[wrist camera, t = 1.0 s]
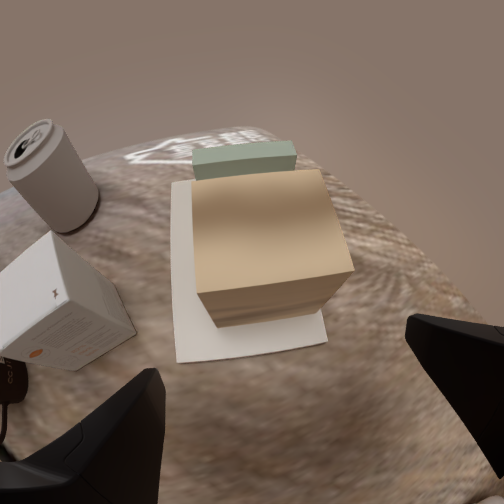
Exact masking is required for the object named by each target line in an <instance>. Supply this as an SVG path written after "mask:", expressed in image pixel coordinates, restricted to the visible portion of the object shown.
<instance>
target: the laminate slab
mask: <svg viewBox="0 0 504 504" xmlns="http://www.w3.org/2000/svg"><path fill="white" fill-rule="evenodd" d="M191 181H196V179H191V180H185V181H178V182H172V190H171V284H172V306H173V322H174V335H175V347H176V358H177V363H180V364H182V363H195V362H206V361H216V360H226V359H234V358H242V357H249V356H257V355H263V354H270V353H276V352H282V351H287V350H293V349H298V348H304V347H309V346H314V345H318V344H323V343H326V342H328V340H327V335H326V330H325V325H324V321H323V316H322V312H321V308H320V309H319V311H318V312H317V313H315V314H309V315H304V316H298V317H292V318H286V319H280V320H274V321H267V322H260V323H253V324H246V325H239V326H231V327H223V328H217V327H216V326H215V324H214V322H213V321H212V319H211V317H210V316H209V314H208V312H207V310H206V309H205V307H204V305H203V303H202V302H201V300H200V298H199V297H198V295H197V292H196V279H195V264H194V246H193V225H192V193H191Z"/></svg>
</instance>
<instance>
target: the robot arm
mask: <svg viewBox="0 0 504 504" xmlns="http://www.w3.org/2000/svg"><path fill="white" fill-rule="evenodd" d="M405 339H406V342H407V343H408V345H409V346H410V348H411V349H412V351H413V353H414V354H415V356H416V357H417V359H418V361H419V362H420V364H421V365H422V367H423V369H424V370H425V371H426V373H427V374H428V375H429V377H430V378H431V379H432V380H433V382H434V383H435V384H436V386H437V387H438V388H439V390H440V391H441V392H442V394H443V395H444V397H445V398H446V399H447V401H448V402H449V403H450V405H451V406H452V408H453V409H454V410H455V412H456V413H457V415H458V416H459V417H460V419H461V420H462V422H463V423H464V425H465V426H466V428H467V429H468V430H469V432H470V433H471V435H472V436H473V438H474V439H475V441H476V442H477V444H478V446H479V447H480V449H481V451H482V452H483V454H484V455H485V457H486V458H487V460H488V462H489V463H490V465H491V467H492V468H493V470H494V472H495V473H496V475H497V477H498V478H499V479H501V478H502V477H503V476H504V327H499V326H492V325H486V324H479V323H472V322H466V321H460V320H454V319H447V318H441V317H436V316H430V315H424V314H418V313H417V314H414V315H411V316H409V317H408V319H407V324H406V331H405ZM165 399H166V391H165V386H164V384H163V381H162V379H161V376H160V374H159V371H158V370H157V369H156V368H146V369H144V370H143V371H142V372H140V373H139V374H138V375H137V376H136V377H134V378H133V379H132V380H131V381H129V382H128V383H127V384H126V385H125V386H123V387H122V388H121V389H120V390H119V391H117V392H116V393H115V394H114V395H112V396H111V397H110V398H109V399H108V400H106V401H105V402H104V403H103V404H101V405H100V406H99V407H98V408H96V409H95V410H94V411H93V412H91V413H90V414H89V415H88V416H86V417H85V418H84V419H83V420H81V423H80V422H79V423H78V424H76V425H75V426H74V427H73V428H71V429H70V430H69V431H67V432H66V433H65V434H63V435H62V436H60V437H59V438H57V439H56V440H54V441H53V442H51V443H50V444H48V445H47V446H45V447H43V448H42V449H40V450H39V451H37V452H35V453H34V454H32V455H30V456H29V457H27V458H25V459H23V460H21V461H17V462H0V504H158V491H159V480H160V470H161V460H162V452H163V443H164V435H165Z"/></svg>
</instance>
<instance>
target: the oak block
mask: <svg viewBox="0 0 504 504" xmlns="http://www.w3.org/2000/svg"><path fill="white" fill-rule="evenodd" d="M191 193H192V225H193V246H194V264H195V279H196V292H197V295H198V297H199V298H200V300H201V302H202V303H203V305H204V307H205V309H206V310H207V312H208V314H209V316H210V317H211V319H212V321H213V322H214V324H215V326H216V327H217V328H223V327H231V326H239V325H246V324H253V323H260V322H267V321H274V320H280V319H286V318H292V317H298V316H304V315H309V314H315V313H317V312H318V311H319V309H320V308H321V307H322V306H323V305H324V304H325V303H326V302H327V301H328V300H329V299H330V298H331V297H332V295H333V294H334V293H335V292H336V291H337V290H338V289H339V288H340V287H341V286H342V284H343V283H344V282H345V281H346V280H347V279H348V278H349V277H350V275H351V274H352V273H353V272H354V271H355V270H354V267H353V263H352V260H351V257H350V254H349V250H348V247H347V244H346V241H345V238H344V235H343V232H342V229H341V226H340V223H339V221H338V218H337V215H336V212H335V209H334V207H333V204H332V201H331V198H330V196H329V193H328V190H327V188H326V185H325V183H324V180H323V178H322V175H321V173H320V170H319V169H314V170H296V171H282V172H269V173H258V174H248V175H238V176H229V177H221V178H213V179H205V180H198V181H191Z"/></svg>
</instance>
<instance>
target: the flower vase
mask: <svg viewBox="0 0 504 504" xmlns="http://www.w3.org/2000/svg"><path fill="white" fill-rule="evenodd" d="M473 504H504V498H503V497H502V496H498V495H494V496H491V497H488V498H485V499H483V500H481V501H480V502H478V503H473Z"/></svg>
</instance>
